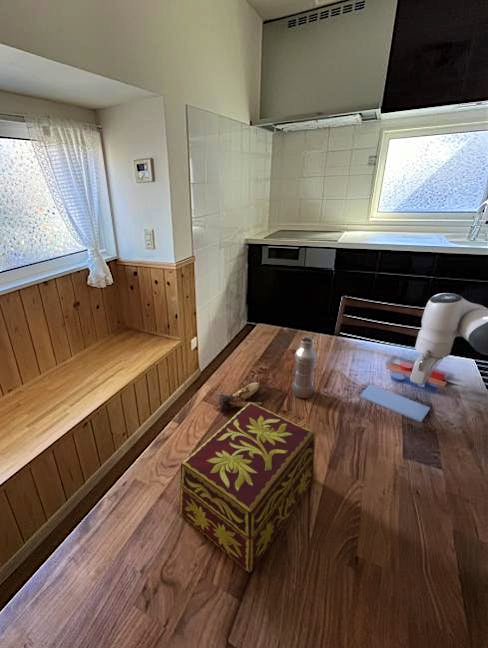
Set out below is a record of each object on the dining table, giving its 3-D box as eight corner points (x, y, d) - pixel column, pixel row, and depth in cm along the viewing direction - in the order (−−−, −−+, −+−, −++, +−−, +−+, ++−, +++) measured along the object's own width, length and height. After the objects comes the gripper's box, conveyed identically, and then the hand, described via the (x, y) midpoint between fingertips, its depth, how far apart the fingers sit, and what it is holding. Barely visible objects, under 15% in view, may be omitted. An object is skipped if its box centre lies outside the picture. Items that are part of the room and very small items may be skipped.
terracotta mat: (450, 377, 112) (451, 376, 112) (443, 388, 107) (444, 386, 107) (394, 359, 124) (395, 358, 124) (386, 368, 119) (386, 367, 119)
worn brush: (233, 425, 99) (273, 398, 108) (233, 413, 97) (274, 386, 106) (212, 408, 105) (252, 384, 115) (212, 397, 103) (252, 373, 113)
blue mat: (429, 409, 99) (430, 407, 99) (421, 422, 94) (421, 421, 94) (369, 385, 111) (370, 384, 111) (359, 396, 106) (359, 395, 106)
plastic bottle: (292, 399, 107) (296, 344, 99) (291, 387, 113) (295, 334, 104) (313, 402, 105) (320, 346, 97) (311, 389, 111) (317, 335, 103)
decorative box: (250, 575, 62) (251, 522, 56) (178, 513, 74) (173, 464, 68) (314, 478, 80) (321, 430, 74) (249, 441, 92) (249, 397, 86)
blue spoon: (438, 389, 107) (439, 383, 106) (434, 395, 104) (435, 389, 103) (393, 374, 116) (394, 368, 115) (389, 379, 114) (390, 373, 113)
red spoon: (445, 377, 111) (446, 371, 110) (441, 382, 109) (443, 376, 108) (401, 363, 120) (403, 357, 119) (397, 368, 118) (398, 362, 117)
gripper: (435, 362, 94) (423, 402, 99) (454, 337, 106) (443, 373, 111) (409, 354, 98) (400, 393, 104) (431, 331, 110) (421, 366, 116)
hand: (422, 383), depth 108 cm, fingers closed on blue spoon, 1 cm apart
